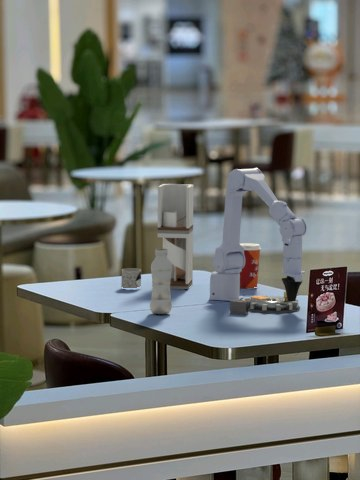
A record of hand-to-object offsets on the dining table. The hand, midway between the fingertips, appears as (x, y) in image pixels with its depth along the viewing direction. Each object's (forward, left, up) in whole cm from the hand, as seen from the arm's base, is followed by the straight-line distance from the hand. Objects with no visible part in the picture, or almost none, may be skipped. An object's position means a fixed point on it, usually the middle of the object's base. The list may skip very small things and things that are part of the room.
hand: (291, 301), depth 380 cm
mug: (-62, +22, -4) cm, 66 cm away
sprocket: (-8, +4, -3) cm, 9 cm away
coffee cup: (-25, +38, -4) cm, 46 cm away
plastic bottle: (-37, -18, -4) cm, 41 cm away
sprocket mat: (-8, +4, -3) cm, 9 cm away
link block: (-15, -8, -4) cm, 17 cm away
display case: (-49, +30, -4) cm, 57 cm away
